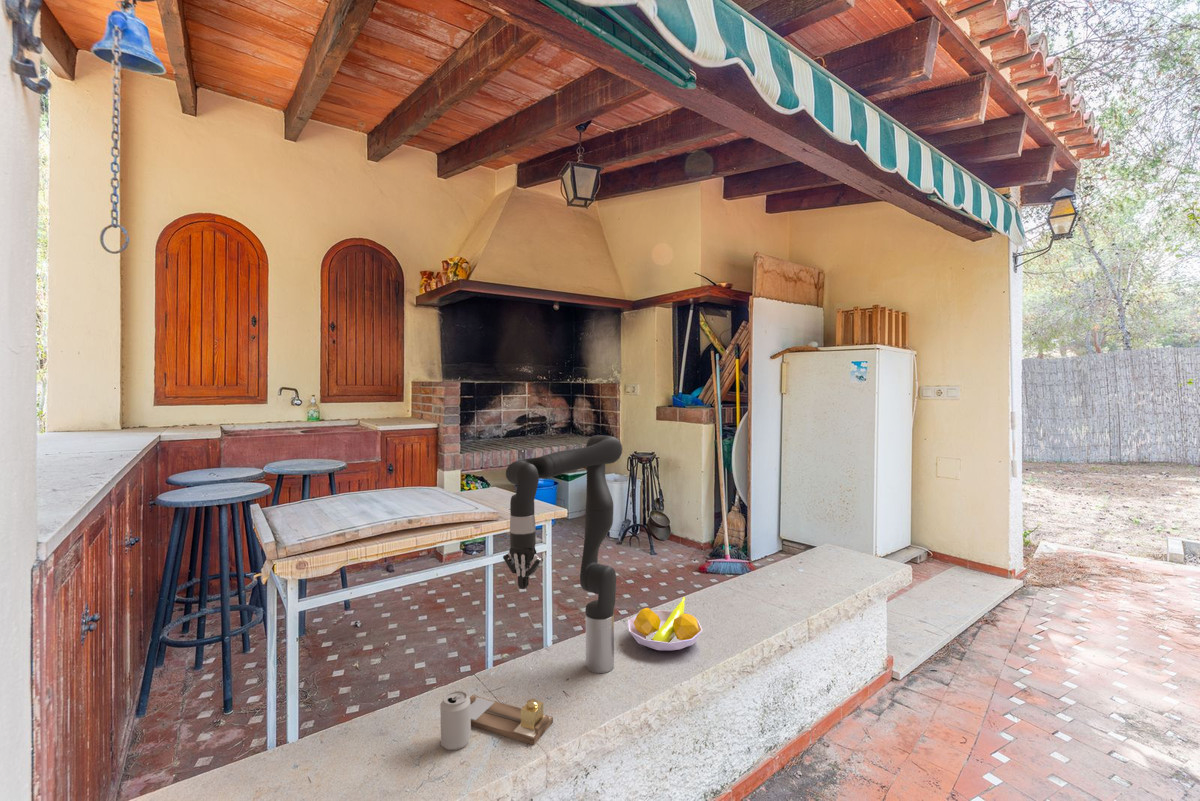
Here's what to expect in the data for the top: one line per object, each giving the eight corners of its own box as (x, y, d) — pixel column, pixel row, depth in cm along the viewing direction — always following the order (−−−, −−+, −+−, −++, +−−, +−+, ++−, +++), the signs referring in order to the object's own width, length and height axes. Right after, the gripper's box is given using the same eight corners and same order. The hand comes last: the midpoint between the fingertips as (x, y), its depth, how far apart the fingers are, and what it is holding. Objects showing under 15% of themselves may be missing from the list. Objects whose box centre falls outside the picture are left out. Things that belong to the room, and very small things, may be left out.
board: (477, 701, 155) (476, 691, 155) (553, 722, 145) (552, 711, 145) (454, 721, 146) (454, 710, 146) (534, 744, 136) (534, 733, 136)
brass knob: (530, 715, 145) (530, 695, 145) (543, 719, 143) (543, 698, 143) (520, 726, 140) (520, 705, 140) (534, 729, 138) (533, 709, 138)
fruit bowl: (663, 668, 173) (663, 633, 172) (612, 637, 195) (612, 606, 194) (722, 643, 189) (722, 612, 189) (669, 617, 211) (668, 589, 211)
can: (435, 742, 137) (434, 696, 137) (461, 729, 142) (461, 684, 142) (449, 756, 132) (449, 708, 131) (476, 742, 137) (476, 696, 137)
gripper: (548, 528, 158) (549, 587, 158) (510, 524, 163) (511, 580, 163) (535, 535, 151) (536, 596, 151) (496, 530, 156) (497, 589, 156)
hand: (523, 588), depth 157 cm, fingers closed
